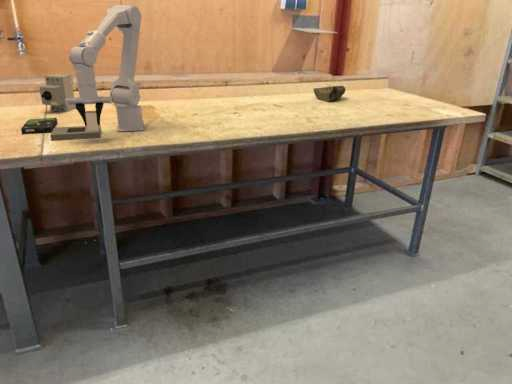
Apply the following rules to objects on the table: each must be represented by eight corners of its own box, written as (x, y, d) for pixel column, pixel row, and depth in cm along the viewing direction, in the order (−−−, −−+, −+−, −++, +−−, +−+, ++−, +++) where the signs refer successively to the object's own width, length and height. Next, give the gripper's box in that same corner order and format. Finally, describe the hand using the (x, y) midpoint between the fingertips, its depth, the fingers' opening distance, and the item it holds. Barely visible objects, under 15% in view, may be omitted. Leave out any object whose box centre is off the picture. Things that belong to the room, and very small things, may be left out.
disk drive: (53, 134, 154) (58, 123, 167) (51, 127, 153) (56, 117, 166) (22, 136, 151) (29, 125, 164) (20, 128, 150) (28, 118, 163)
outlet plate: (101, 130, 158) (100, 125, 157) (99, 137, 149) (99, 132, 148) (55, 132, 154) (54, 127, 153) (51, 140, 145) (50, 135, 144)
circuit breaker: (41, 113, 180) (34, 78, 174) (62, 107, 192) (57, 73, 186) (56, 115, 178) (50, 79, 172) (77, 108, 191) (71, 74, 185)
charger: (98, 127, 146) (96, 110, 143) (98, 130, 143) (95, 112, 140) (88, 128, 145) (85, 110, 143) (87, 130, 142) (85, 113, 140)
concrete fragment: (308, 94, 221) (325, 75, 225) (318, 109, 225) (334, 91, 229) (325, 91, 208) (343, 72, 212) (336, 108, 213) (353, 88, 217)
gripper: (61, 87, 132) (68, 129, 138) (109, 86, 136) (114, 126, 142) (64, 83, 139) (71, 123, 144) (110, 82, 142) (114, 121, 148)
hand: (92, 124), depth 143 cm, fingers closed on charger, 3 cm apart
